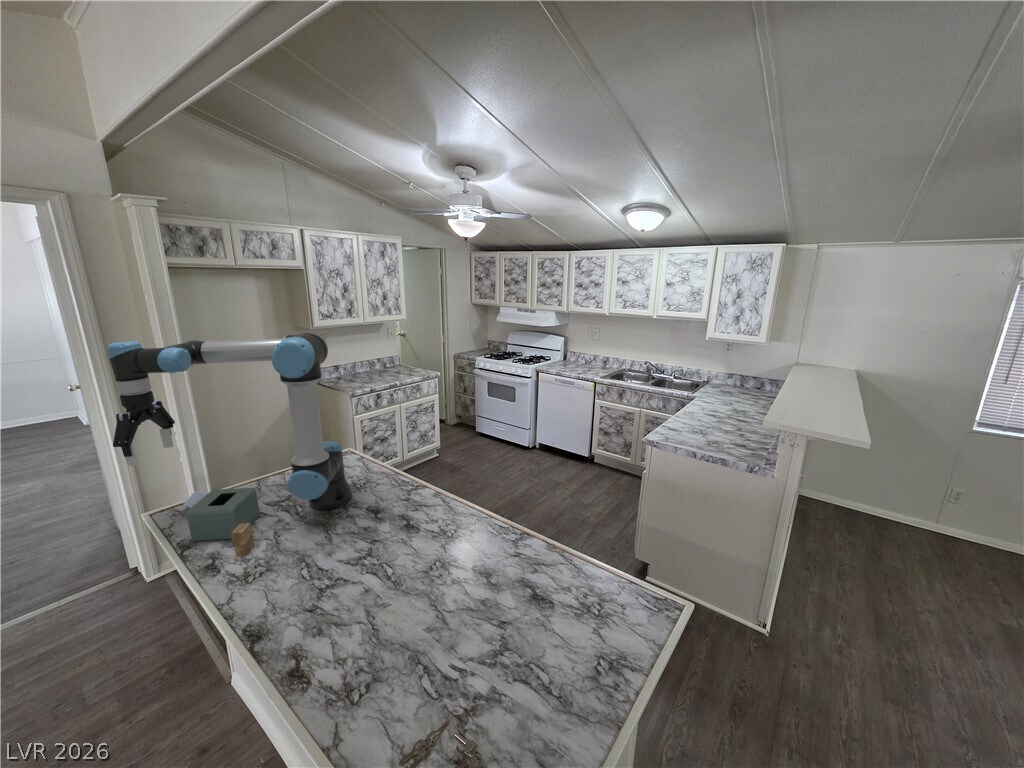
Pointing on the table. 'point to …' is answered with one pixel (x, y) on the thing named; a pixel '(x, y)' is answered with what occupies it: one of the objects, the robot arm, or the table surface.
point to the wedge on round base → (195, 498)
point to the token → (243, 539)
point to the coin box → (222, 513)
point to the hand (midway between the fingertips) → (152, 455)
